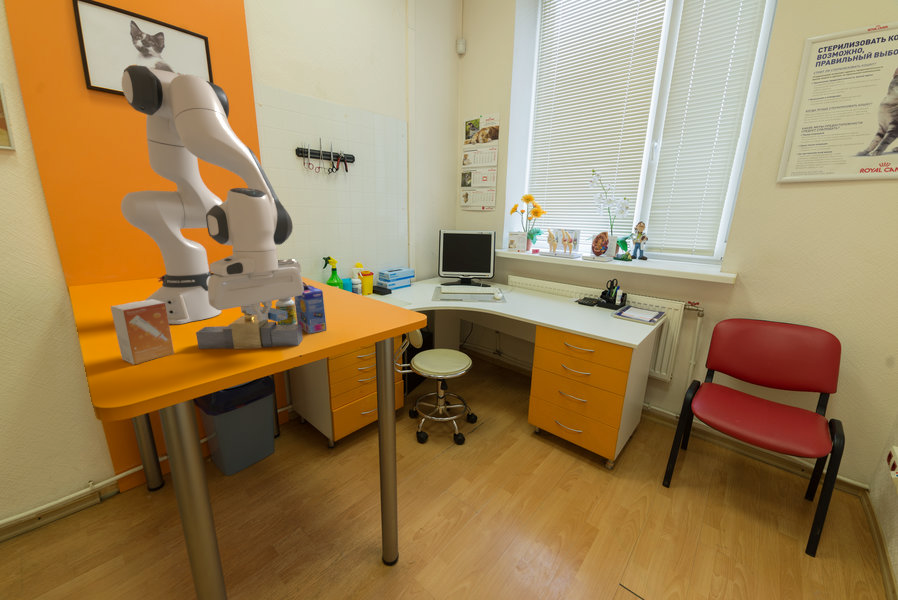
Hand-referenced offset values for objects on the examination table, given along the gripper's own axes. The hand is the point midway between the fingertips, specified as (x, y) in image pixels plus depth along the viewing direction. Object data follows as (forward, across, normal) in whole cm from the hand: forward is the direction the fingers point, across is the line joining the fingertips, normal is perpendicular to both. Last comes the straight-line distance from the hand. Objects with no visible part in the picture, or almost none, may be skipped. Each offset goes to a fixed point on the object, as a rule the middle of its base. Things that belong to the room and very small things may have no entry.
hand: (263, 320), depth 84 cm
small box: (+9, +18, -20) cm, 29 cm away
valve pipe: (+9, -1, -10) cm, 13 cm away
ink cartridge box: (+9, -18, -10) cm, 22 cm away
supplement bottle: (+9, -15, -19) cm, 25 cm away
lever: (0, -2, -4) cm, 5 cm away
